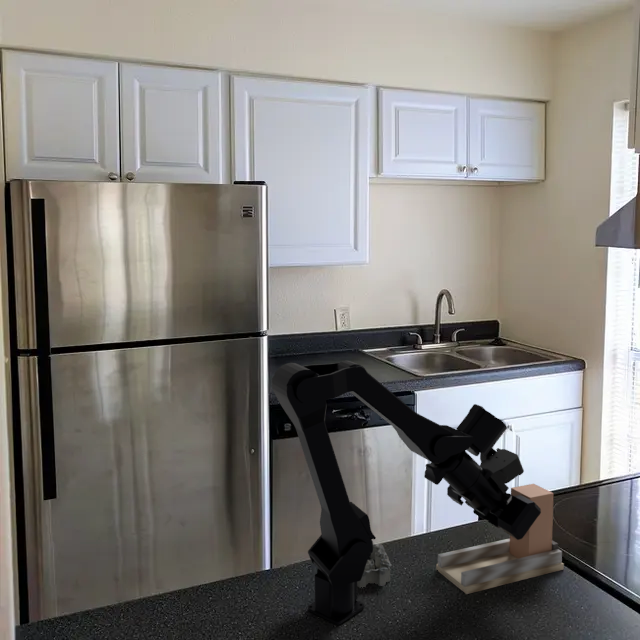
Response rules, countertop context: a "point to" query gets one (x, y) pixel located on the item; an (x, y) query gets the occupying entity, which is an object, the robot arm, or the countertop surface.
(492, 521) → the robot arm
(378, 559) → the egg carton
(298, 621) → the countertop surface
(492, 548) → the chute
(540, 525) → the chute block
